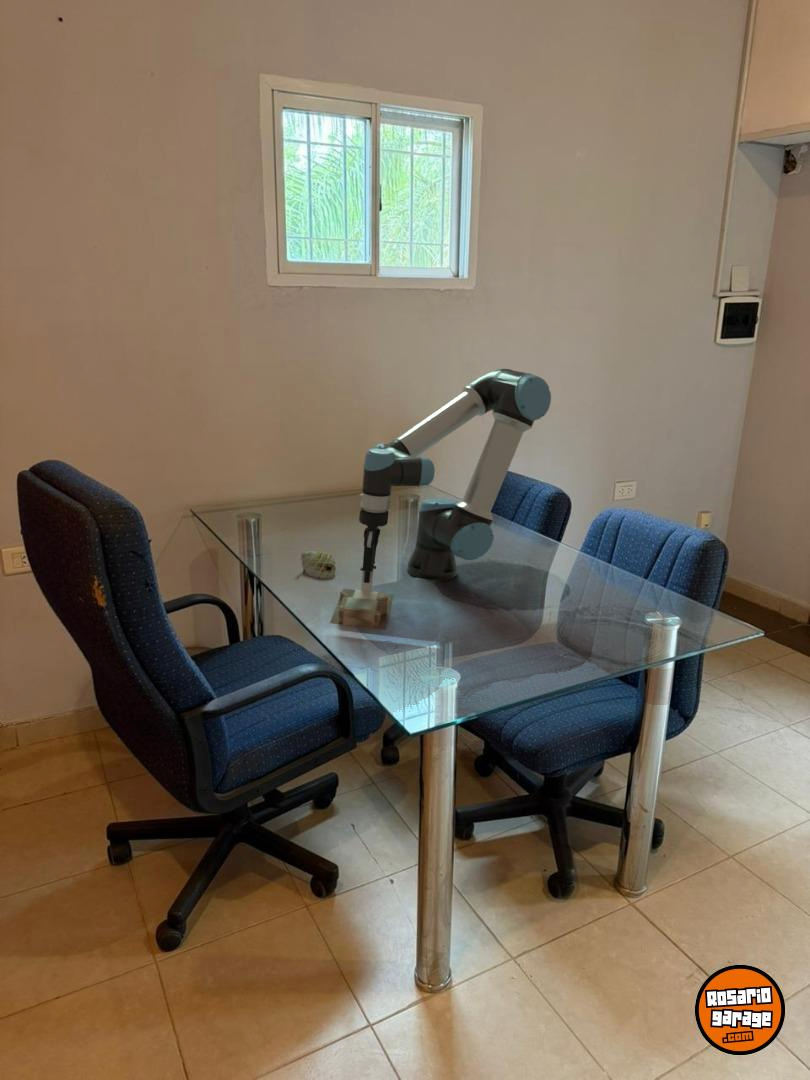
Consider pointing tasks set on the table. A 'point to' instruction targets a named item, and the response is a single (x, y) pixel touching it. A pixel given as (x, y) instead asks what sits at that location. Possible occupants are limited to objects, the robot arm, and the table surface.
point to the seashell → (318, 564)
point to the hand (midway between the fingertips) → (365, 592)
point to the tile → (365, 594)
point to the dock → (362, 610)
